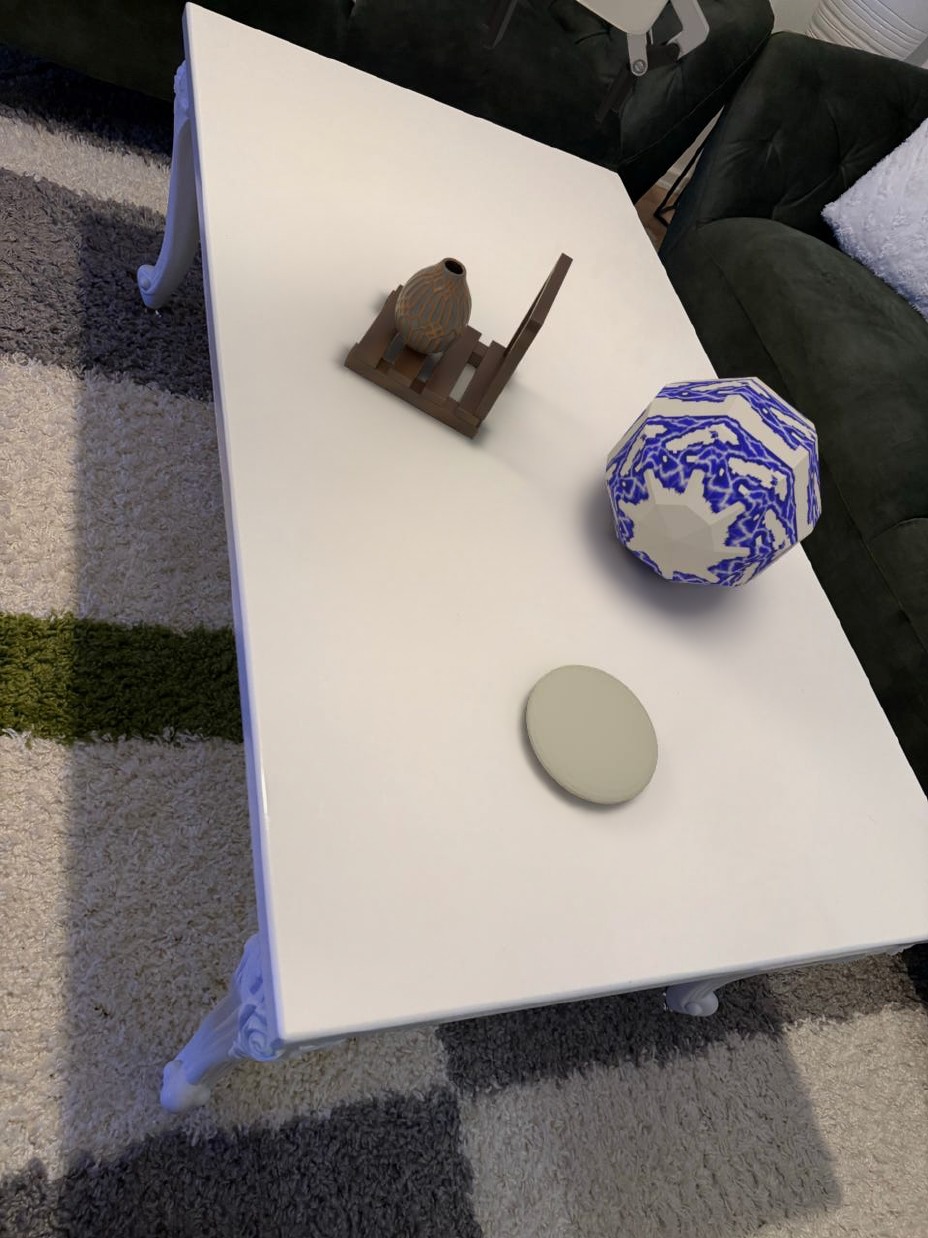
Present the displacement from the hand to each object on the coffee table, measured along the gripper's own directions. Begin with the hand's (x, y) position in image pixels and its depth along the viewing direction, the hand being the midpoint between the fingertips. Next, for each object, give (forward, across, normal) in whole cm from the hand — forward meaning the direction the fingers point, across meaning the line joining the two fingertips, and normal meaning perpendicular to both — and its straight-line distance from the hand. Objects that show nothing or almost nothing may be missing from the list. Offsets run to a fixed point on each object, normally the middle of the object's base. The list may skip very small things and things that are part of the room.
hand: (546, 78), depth 67 cm
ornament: (+28, -30, +6) cm, 42 cm away
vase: (+26, 0, +1) cm, 26 cm away
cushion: (+28, -28, +32) cm, 51 cm away
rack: (+28, -2, +1) cm, 28 cm away
